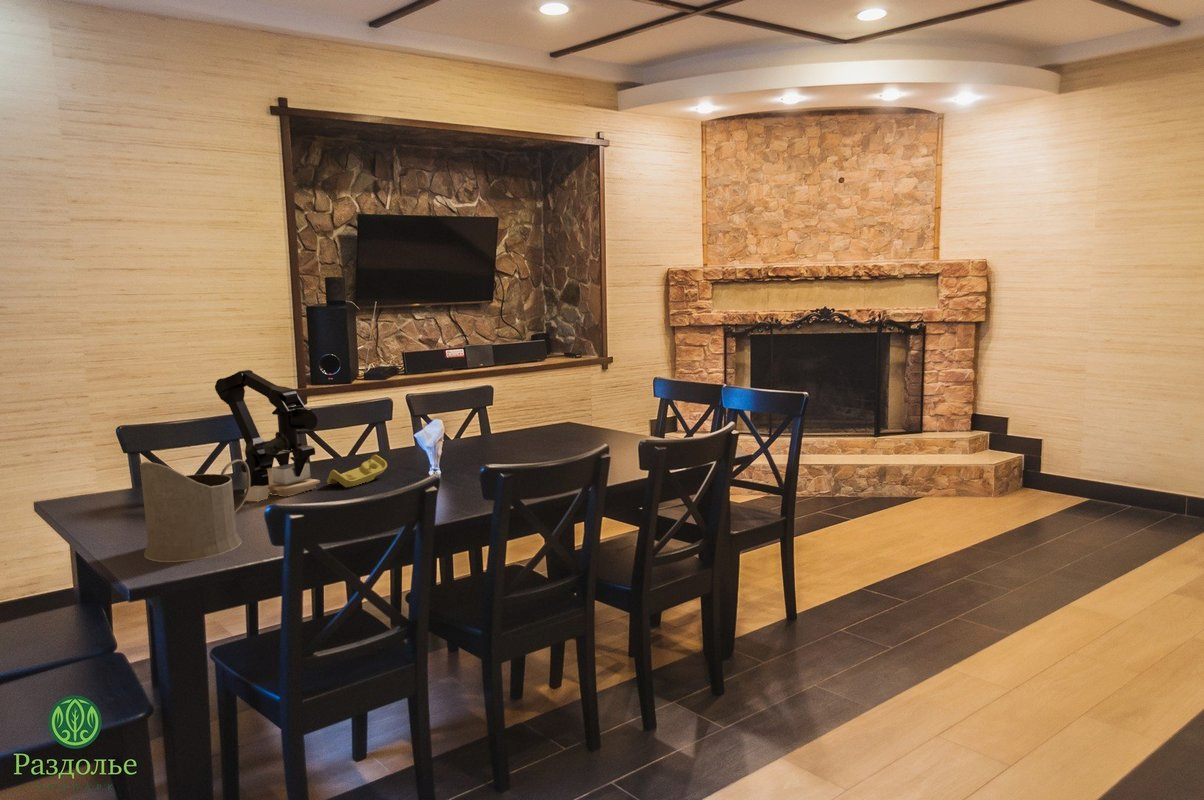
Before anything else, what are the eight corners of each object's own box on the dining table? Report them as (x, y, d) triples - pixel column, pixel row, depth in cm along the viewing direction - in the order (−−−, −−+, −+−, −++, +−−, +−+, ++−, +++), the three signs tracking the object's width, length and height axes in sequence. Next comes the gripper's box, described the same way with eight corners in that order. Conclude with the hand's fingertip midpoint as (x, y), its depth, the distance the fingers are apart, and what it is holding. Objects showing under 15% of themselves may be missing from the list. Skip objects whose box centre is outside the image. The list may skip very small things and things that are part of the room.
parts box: (245, 501, 284) (244, 489, 283) (255, 497, 288) (254, 485, 288) (259, 502, 282) (258, 490, 282) (269, 498, 287) (268, 486, 286)
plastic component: (349, 482, 295) (329, 467, 299) (345, 500, 298) (325, 485, 302) (393, 466, 312) (372, 451, 315) (388, 483, 315) (368, 469, 318)
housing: (298, 476, 299) (297, 461, 298) (310, 478, 296) (309, 463, 295) (273, 482, 291) (271, 467, 290) (284, 485, 288) (283, 469, 287)
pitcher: (124, 556, 231) (113, 460, 227) (224, 523, 259) (216, 437, 255) (187, 566, 221) (177, 466, 217) (284, 531, 249) (277, 442, 245)
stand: (264, 495, 291) (264, 486, 291) (300, 485, 302) (300, 477, 302) (284, 498, 285) (283, 489, 285) (320, 489, 297) (319, 480, 297)
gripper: (248, 430, 290) (252, 477, 292) (285, 434, 279) (289, 483, 281) (277, 424, 299) (281, 470, 301) (314, 428, 288) (318, 476, 291)
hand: (291, 475), depth 293 cm, fingers open, 6 cm apart
